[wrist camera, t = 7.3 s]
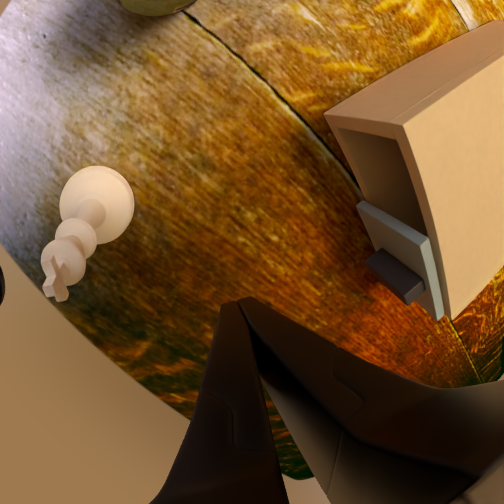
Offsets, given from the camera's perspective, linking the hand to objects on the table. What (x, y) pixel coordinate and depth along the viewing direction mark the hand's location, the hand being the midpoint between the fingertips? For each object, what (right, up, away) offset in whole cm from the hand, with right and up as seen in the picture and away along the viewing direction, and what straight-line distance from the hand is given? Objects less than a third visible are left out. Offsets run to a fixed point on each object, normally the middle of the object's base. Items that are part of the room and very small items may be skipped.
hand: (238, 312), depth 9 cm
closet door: (+10, +2, +16) cm, 18 cm away
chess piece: (-9, +5, +9) cm, 14 cm away
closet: (+20, +13, +14) cm, 27 cm away
